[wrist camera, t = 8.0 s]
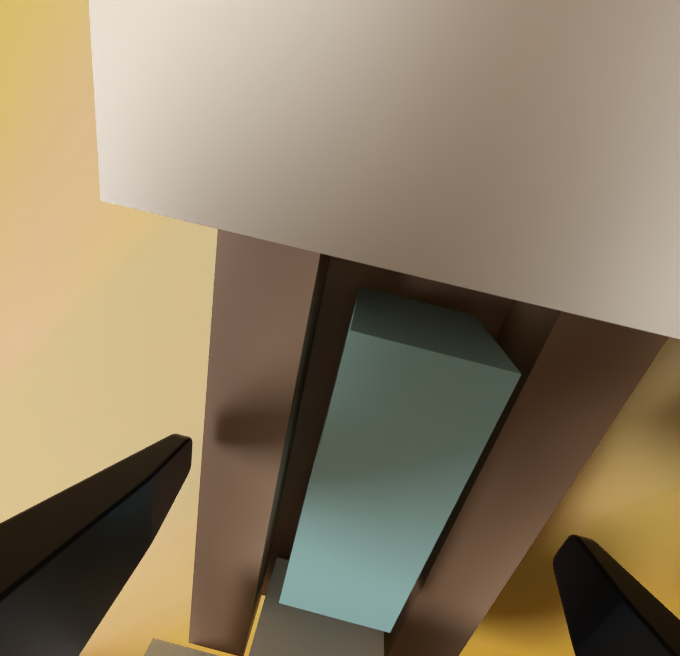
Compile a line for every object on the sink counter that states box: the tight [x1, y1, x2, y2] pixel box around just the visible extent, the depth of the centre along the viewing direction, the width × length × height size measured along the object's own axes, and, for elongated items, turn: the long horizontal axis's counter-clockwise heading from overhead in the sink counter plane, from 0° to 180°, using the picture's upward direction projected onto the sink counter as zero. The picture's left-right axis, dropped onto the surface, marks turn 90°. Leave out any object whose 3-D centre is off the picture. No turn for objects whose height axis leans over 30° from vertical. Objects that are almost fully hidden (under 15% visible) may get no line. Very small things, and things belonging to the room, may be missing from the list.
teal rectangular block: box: [279, 286, 521, 633], centre depth 9 cm, size 8×3×3 cm, turn 167°
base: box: [89, 0, 680, 656], centre depth 8 cm, size 9×20×6 cm, turn 168°
